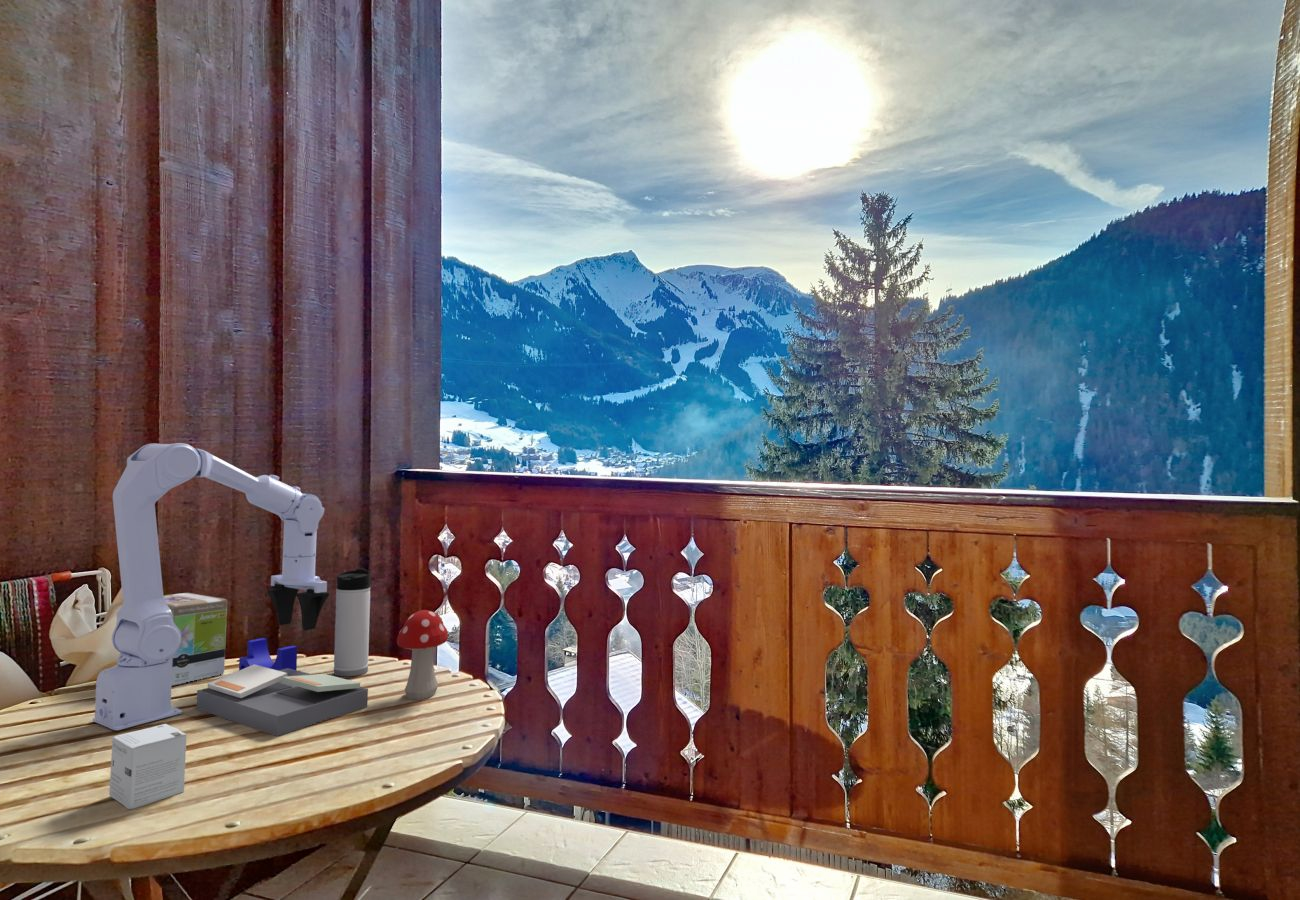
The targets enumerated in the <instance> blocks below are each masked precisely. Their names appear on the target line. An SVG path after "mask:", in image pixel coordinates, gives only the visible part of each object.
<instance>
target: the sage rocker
mask: <svg viewBox="0 0 1300 900" xmlns="http://www.w3.org/2000/svg"><path fill="white" fill-rule="evenodd" d="M281 682H284V683H287V684H291V685H295V686H298V687H302V688H305V689H309V690H313V691H316V692H321V691H332V690H343V689H353V688H360V687H361V682H357V681H354V680H350V679H345V678H344V677H343V678H342V677H340V676H336V675H335V676H334V675H330V674H326V673H320V674H319V673H317V674H313V675H302V676H288V677H282V681H281Z"/></svg>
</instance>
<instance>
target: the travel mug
mask: <svg viewBox="0 0 1300 900" xmlns="http://www.w3.org/2000/svg"><path fill="white" fill-rule="evenodd" d="M335 590H336V593H335V615H334V616H335V621H334V622H335V623H334V624H335V625H334V652H333V653H334V654H333V657H334V658H333V674H334V675H335V676H336V675H337V676H336V677H340V678H342V677H343V678H345V677H346V678H348V677H349V678H350V677H357V676H361V675H365V674H366V673H367V672H368V670H369V648H370V647H369V645H370V644H369V643H370V618H371V617H370V614H371V613H370V611H371V609H370V608H371V571H370V570H367V568H356V569H355V570H348V571H343V572H340V573H338V574H337V575H336V589H335Z"/></svg>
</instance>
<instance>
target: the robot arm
mask: <svg viewBox="0 0 1300 900" xmlns="http://www.w3.org/2000/svg"><path fill="white" fill-rule="evenodd" d="M192 478H205V479H208V480H211V481H214V482H216V483H219V484H222V485H224V486H227V487H229V488H232V489H234V490H237V491H239V492H241V493H244V494H245V497H246V500H247V502H248V503H249V504H252V505H253V506H256V507H258V508H261V509H263V510H266V511H268V512H269V513H272V514H275V515H277V516H278V517H279V518H280V519H281V521H283V539H282V540H283V541H282V543H283V544H282V566H281V567H282V569H281V570H282V572H281V574H276V575H271V576H270V586H271V587H273V588H268V589H266V594H267V595H268V596H269V599H270V600H271V601H272V602H271V603H272V604H273V607H274V611H275V615H276V619H277V623H278V625H279V626H285V625H289V624H291V623H292V621H293V614H294V613H293V612H294V604H295V601H296V598H297V600H298V603H299V607H300V613H301V626H302V630H303V631H310V630H315V628H316V625H317V622H318V620H319V616H320V613H321V611H322V608H323V606H324V604H325V602H326V601H327V600H328V598H329V596H330V591H328V581H327V580H326V581H325V580H321V577H320V576H317V575H316V560H317V559H316V557H317V538H318V537H317V532H318V530H319V523H320V521H321V519H322V518H323V516H324V514H325V507H323V504H322V501H321V500H320V498H319V497H318V496H317V495H315V494H312V493H302V492H301V488H300V487H299V486H297V485H296V486H291V485H288V484H287V483H285V482H282V481H280V476H278V475H275V474H269V475H267V474H263V475H259V476H254V475H252V474H250V473H248V472H247V471H244V470H242V469H241V468H238V467H237V466H235V465H233V464H231V463H229V462H227V461H225V460H223V459H221V458H219V457H217V456H215V455H214V454H211V453H210V452H209V451H206V450H204V449H201V448H194V447H193V446H191V445H190V444H187V443H183V442H176V443H156V442H155V443H147V444H145V445H143V446H141V447H139V449H136V451H135V452H133V453H132V454H131V455H129V456H128V457H127V459H126V466H125V469H124V471H123V472H122V474H121V477H120V478H119V480H118V482H117V484H116V485H115V487H114V489H113V492H112V503H113V514H114V524H115V525H114V526H115V535H116V544H117V553H118V563H119V564H118V565H119V575H120V582H121V583H120V585H121V594H122V603H123V604H122V605H121V606H120V607H119V609H118V611H117V612H116V623H115V627H114V630H113V631H112V634H111V643H112V646H113V648H114V649H115V650H116V651H117V652H118V653H119V655H118V658H117V664H116V665H113V666H111V667H109V668H104V669H102V670H101V671H99V673H98V675H97V678H96V684H95V700H94V701H95V702H94V703H95V705H94V707H95V708H94V717H93V718H92V722H94V723H97V724H99V725H101V726H104V727H106V728H108V729H111V730H114V731H121V730H124V729H129V728H132V727H136V726H139V725H140V726H141V725H143V724H147V723H150V722H151V723H152V722H155V721H158V720H161V719H166V718H169V717H173V716H176V715H181V714H182V713H183V710H182V709H180V708H177V707H175V706H172V686H171V685H172V657H173V654H174V653H175V652H176V651H177V649H178V648H179V646H180V643H181V633H180V631H179V629H178V628H177V626H176V625H175V624H174V621H173V616H172V612H171V610H170V608H169V607H168V605H167V604H166V602H165V600H164V597H163V596H164V590H163V589H164V588H163V579H162V578H163V577H162V567H161V556H160V549H159V546H160V545H159V535H158V526H157V525H158V523H157V516H156V505H155V504H156V502H157V501H159V500H160V499H161V498H162V497H163V496H165V495H166V493H168V492H169V491H170V490H171V489H174V488H176V487H178V486H179V485H182V484H184V483H186V482H188V481H189V480H191V479H192ZM299 590H303V591H305V592H299Z"/></svg>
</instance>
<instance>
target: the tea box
mask: <svg viewBox="0 0 1300 900" xmlns="http://www.w3.org/2000/svg"><path fill="white" fill-rule="evenodd" d="M163 597H164V600H165V602H166V604H167V605H168V607H169V608H170V610H171V612H172V616H173V621H174V624H175V625H176V626H177V628H178V629H179V631H180V633H181V643H180V646H179V648H178V649H177V651H176V652H175V653H174V654H173V657H172V685H171V687H172V686H177V685H183V684H187V683H186V682H188V683H191V682H190V681H193V682H195V681H194V680H197V681H199V680H198V679H201V680H203V679H202V678H206V677H210V678H212V677H211V676H215V675H218V676H221V675H220V674H222V675H223V674H225V662H226V654H225V653H226V640H227V639H226V638H227V637H226V636H227V635H226V634H227V615H228V599H227V598H222V597H215V596H210V595H203V594H197V593H192V592H183V593H181V592H180V593H174V594H165V595H164V594H163ZM215 677H216V676H215ZM206 679H207V678H206ZM182 683H183V684H182Z"/></svg>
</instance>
